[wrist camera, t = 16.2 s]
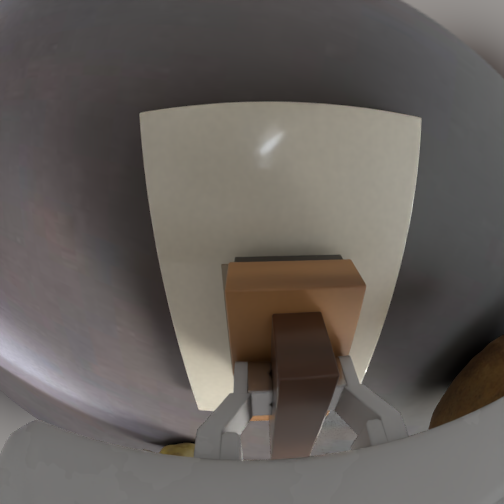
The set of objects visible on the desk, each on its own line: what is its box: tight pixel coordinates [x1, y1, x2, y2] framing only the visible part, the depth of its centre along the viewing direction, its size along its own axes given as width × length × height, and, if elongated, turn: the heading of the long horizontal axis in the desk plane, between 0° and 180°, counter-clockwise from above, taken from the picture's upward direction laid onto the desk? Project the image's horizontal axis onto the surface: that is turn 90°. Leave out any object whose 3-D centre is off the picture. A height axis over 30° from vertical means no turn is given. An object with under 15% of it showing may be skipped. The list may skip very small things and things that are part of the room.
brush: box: [225, 254, 366, 459], centre depth 11 cm, size 9×5×6 cm, turn 1°
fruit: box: [143, 443, 195, 457], centre depth 24 cm, size 6×6×10 cm
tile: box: [139, 101, 421, 411], centre depth 15 cm, size 20×12×2 cm, turn 1°
